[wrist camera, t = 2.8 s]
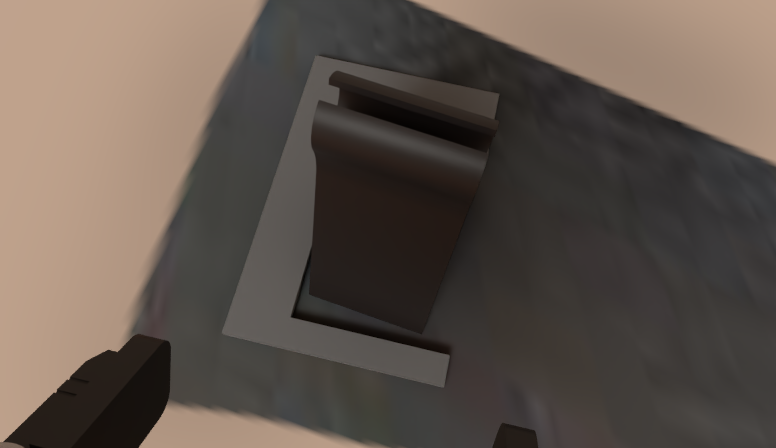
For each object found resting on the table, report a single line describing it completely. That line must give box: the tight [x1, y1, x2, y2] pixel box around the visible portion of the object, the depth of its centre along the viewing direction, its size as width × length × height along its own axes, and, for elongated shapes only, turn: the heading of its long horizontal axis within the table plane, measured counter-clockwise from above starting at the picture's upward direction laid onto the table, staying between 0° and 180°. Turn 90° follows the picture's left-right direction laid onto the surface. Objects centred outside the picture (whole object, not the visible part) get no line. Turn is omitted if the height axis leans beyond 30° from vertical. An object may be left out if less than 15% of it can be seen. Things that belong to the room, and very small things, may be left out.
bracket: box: [222, 55, 499, 388], centre depth 30 cm, size 11×17×1 cm, turn 167°
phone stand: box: [309, 71, 499, 334], centre depth 24 cm, size 9×6×12 cm, turn 160°
